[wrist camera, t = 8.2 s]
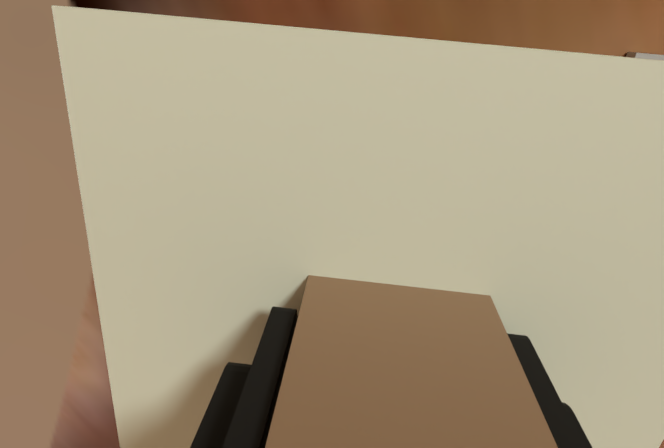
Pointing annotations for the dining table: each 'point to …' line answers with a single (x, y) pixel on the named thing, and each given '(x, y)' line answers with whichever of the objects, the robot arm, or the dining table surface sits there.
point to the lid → (369, 229)
